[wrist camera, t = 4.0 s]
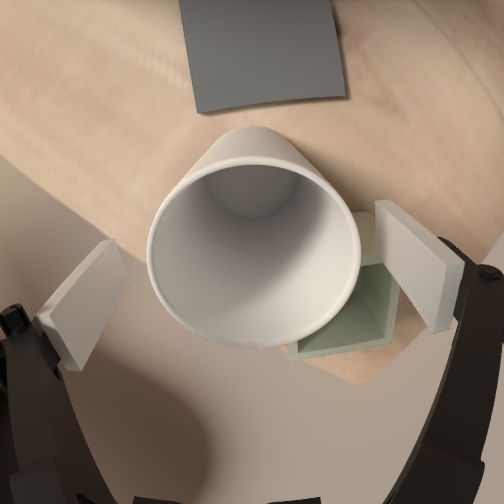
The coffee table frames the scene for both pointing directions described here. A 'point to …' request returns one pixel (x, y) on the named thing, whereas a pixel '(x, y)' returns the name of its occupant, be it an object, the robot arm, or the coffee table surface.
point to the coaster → (260, 51)
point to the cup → (253, 244)
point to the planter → (358, 306)
